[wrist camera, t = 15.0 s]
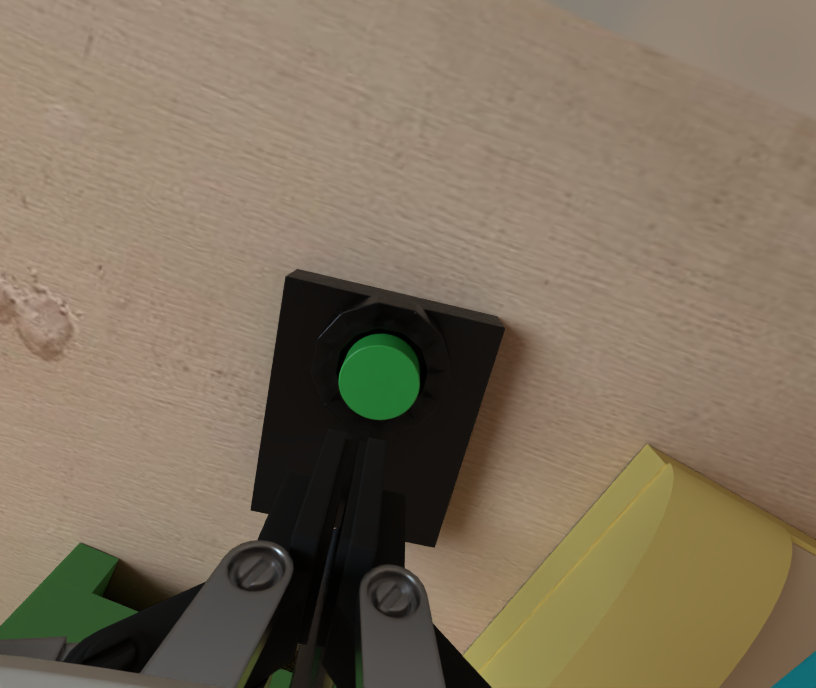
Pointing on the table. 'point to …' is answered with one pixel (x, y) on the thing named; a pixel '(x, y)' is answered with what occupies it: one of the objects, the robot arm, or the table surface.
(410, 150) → the table surface
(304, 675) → the lamp
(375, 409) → the button
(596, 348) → the table surface
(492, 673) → the pop-up book
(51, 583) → the green cradle stand
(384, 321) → the lamp base
